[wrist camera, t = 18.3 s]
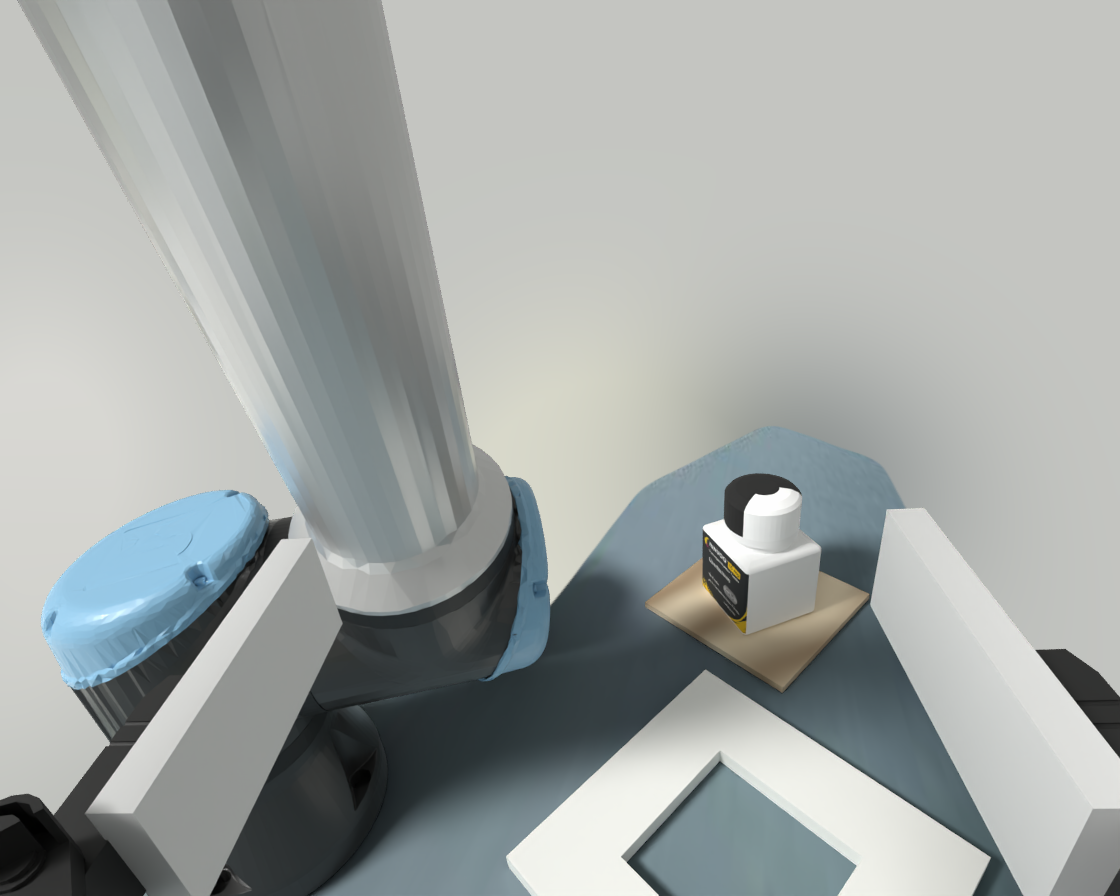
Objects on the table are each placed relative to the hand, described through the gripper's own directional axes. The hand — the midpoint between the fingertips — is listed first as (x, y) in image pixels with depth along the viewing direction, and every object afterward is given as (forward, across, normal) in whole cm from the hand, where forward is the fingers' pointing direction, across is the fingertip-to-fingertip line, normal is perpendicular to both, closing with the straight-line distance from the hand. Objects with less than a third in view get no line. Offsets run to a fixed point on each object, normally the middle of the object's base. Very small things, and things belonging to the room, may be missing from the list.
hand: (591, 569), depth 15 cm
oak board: (+33, +12, -32) cm, 47 cm away
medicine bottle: (+33, +12, -32) cm, 47 cm away
